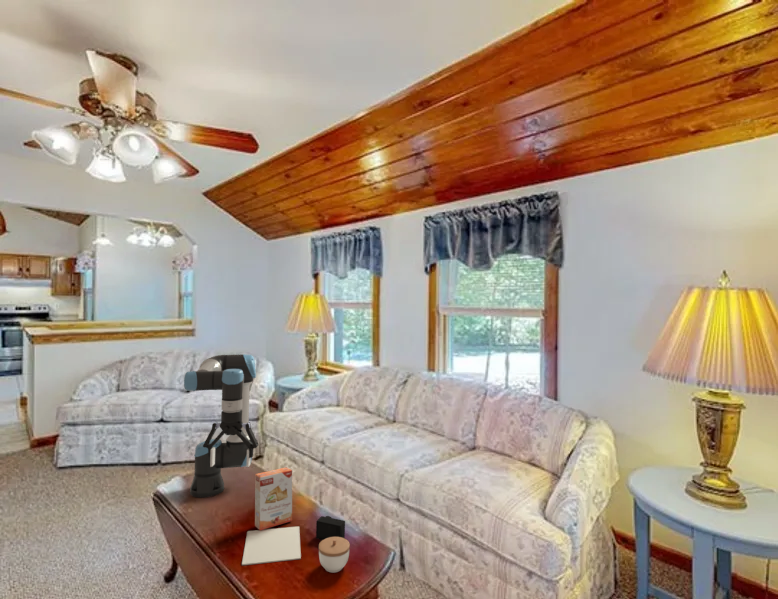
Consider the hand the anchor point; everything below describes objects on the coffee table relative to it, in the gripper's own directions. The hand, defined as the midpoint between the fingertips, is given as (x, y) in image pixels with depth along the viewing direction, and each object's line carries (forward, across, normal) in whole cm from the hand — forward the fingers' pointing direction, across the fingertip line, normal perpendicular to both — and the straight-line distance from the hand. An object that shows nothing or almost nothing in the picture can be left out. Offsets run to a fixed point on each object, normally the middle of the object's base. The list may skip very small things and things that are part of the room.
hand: (230, 465), depth 165 cm
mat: (+28, +18, -4) cm, 33 cm away
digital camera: (+28, +39, +2) cm, 48 cm away
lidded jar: (+28, +42, -17) cm, 53 cm away
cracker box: (+28, +15, +11) cm, 34 cm away
